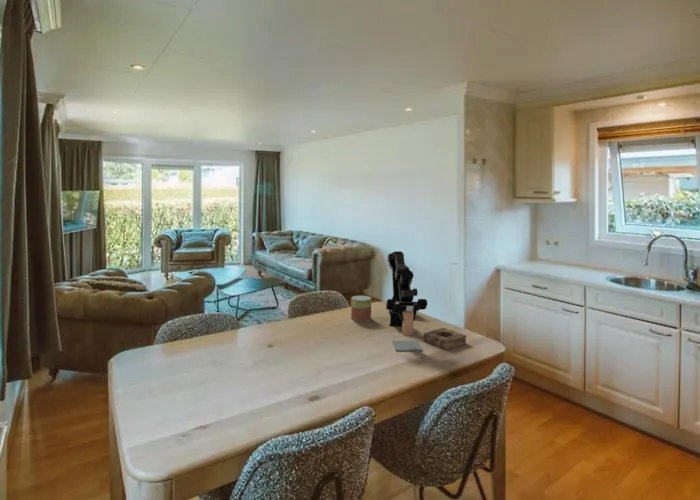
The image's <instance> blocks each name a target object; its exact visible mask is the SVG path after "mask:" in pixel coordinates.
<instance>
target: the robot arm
mask: <svg viewBox="0 0 700 500" xmlns="http://www.w3.org/2000/svg"><path fill="white" fill-rule="evenodd" d="M387 263H388V267H389V268H390V269H391V277H392V297H391V298H388V299H386V303H385V307H386V308H385V309H386V310H388V314H389V316H390V319H389V321H390V322H389V326H392V327H401V328H402V321H403V311H406V308H407V306H413V307H414V308H413V312H414V318H413V322H415V321H416V315H417V312H419V311H420V310H422V311H424V310H426V309H427V306H428V300H427V299H426V298H418V299H417V301H414V297H417V296H418V288H411V285H412V281H413V278H414V273H413V271H412V270H410V267H409V266H407V265H406V262H405V254H404V252H403V251H392V252H390V253H388V255H387ZM412 300H413V301H412Z"/></svg>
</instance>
